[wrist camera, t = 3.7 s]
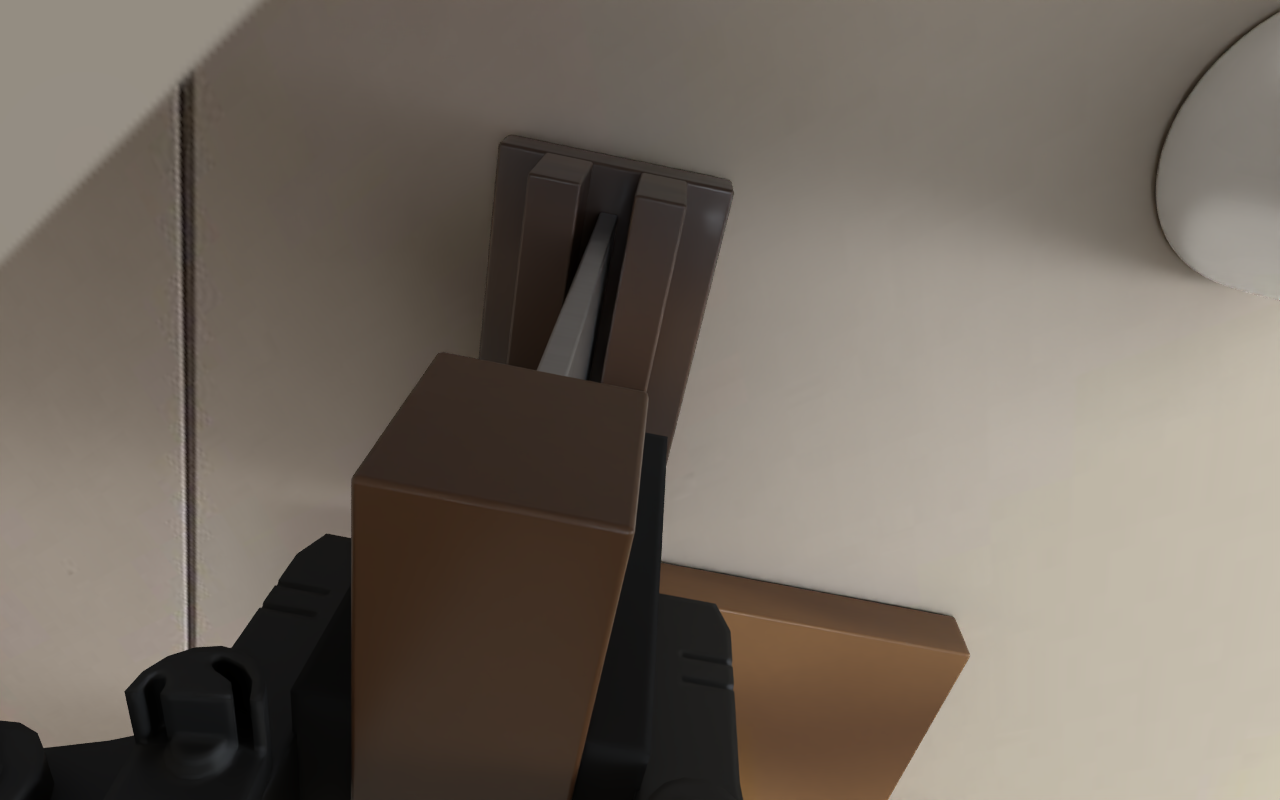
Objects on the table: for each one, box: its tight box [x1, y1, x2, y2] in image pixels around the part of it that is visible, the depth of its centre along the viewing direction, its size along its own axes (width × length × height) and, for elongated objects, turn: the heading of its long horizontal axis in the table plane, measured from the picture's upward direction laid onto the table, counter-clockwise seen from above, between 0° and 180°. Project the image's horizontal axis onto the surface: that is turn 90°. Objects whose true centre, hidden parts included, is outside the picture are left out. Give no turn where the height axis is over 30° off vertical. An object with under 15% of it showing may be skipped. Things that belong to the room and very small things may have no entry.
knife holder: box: [479, 135, 734, 465], centre depth 18 cm, size 10×5×3 cm, turn 169°
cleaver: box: [351, 212, 649, 800], centre depth 13 cm, size 9×2×11 cm, turn 169°
